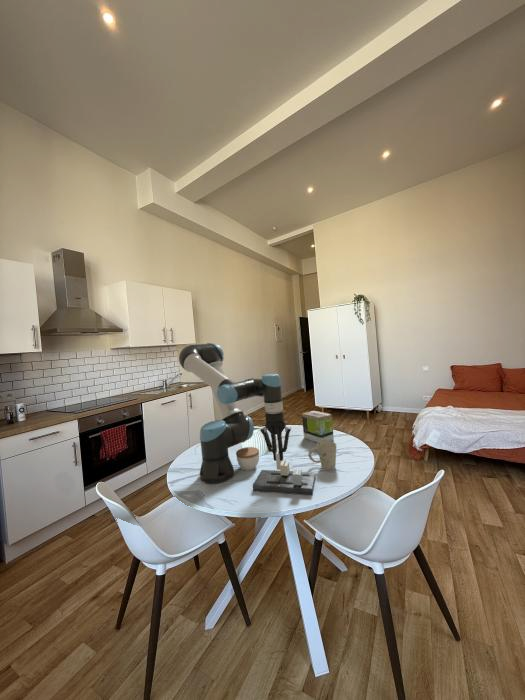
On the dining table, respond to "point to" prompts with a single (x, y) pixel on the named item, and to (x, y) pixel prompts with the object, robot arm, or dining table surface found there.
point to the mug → (325, 454)
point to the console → (284, 483)
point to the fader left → (284, 468)
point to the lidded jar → (248, 458)
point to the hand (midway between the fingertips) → (279, 468)
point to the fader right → (297, 477)
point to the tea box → (317, 426)
